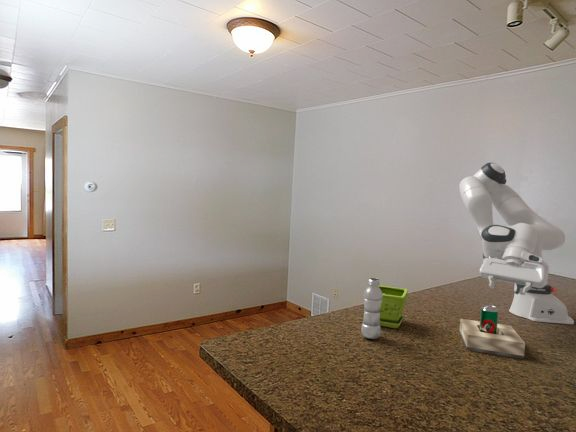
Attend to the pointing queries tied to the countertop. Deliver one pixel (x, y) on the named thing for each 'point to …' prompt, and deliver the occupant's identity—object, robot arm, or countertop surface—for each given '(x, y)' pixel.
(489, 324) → the soda can
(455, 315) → the countertop surface
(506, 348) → the can holder
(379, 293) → the plastic bottle
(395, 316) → the flower pot
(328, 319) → the countertop surface
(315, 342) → the countertop surface
